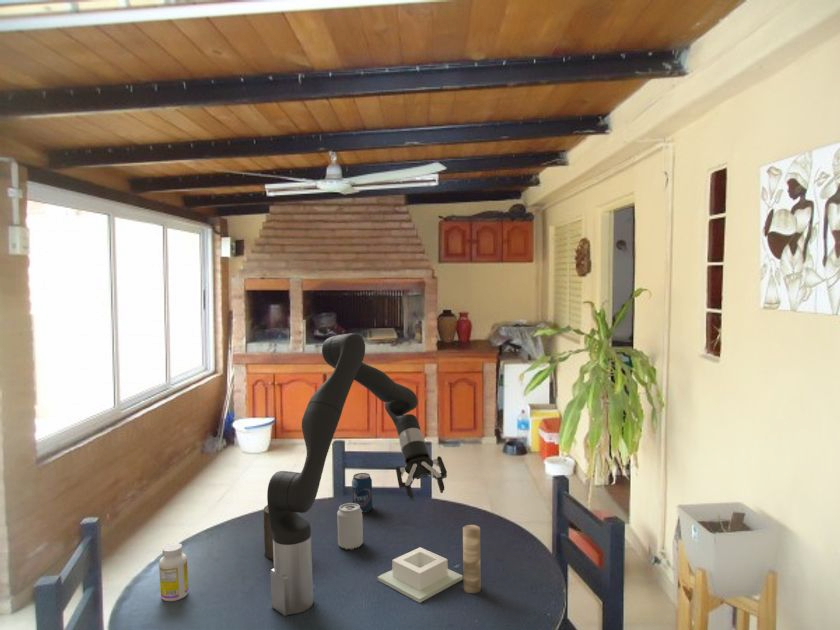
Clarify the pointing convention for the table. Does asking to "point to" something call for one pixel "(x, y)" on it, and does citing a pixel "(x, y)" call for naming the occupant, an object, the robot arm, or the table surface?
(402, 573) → the socket
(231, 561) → the table surface
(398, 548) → the table surface
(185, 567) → the supplement bottle
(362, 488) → the soda can
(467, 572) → the peg
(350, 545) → the can
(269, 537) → the pillar candle
